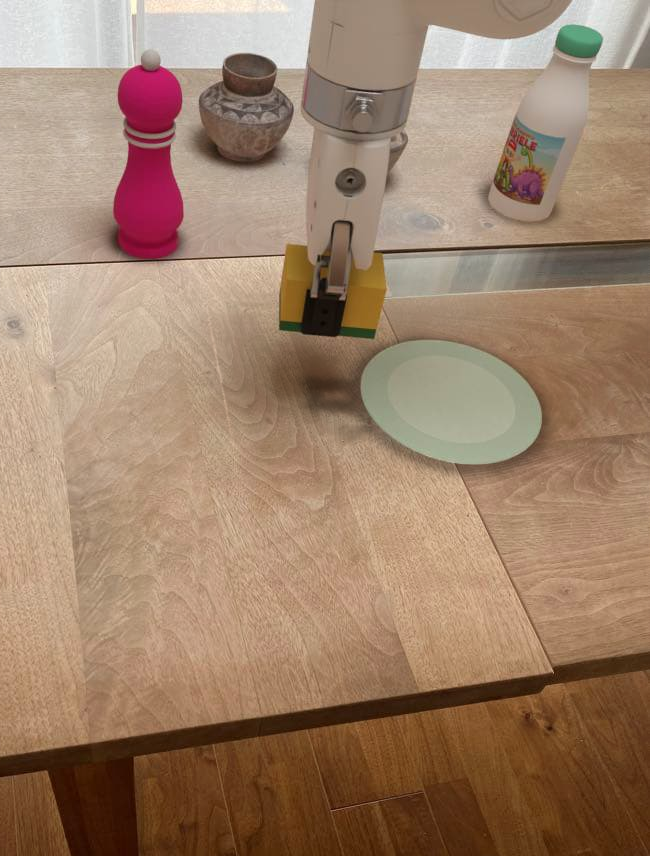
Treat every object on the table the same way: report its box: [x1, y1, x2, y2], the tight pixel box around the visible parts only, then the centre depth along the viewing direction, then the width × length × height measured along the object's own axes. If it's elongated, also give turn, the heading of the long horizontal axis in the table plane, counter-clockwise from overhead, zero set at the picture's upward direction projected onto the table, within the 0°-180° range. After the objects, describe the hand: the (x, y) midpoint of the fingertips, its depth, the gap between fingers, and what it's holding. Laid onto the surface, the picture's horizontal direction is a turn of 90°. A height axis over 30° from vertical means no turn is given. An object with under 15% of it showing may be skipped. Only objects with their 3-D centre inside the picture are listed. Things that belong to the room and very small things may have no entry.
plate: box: [360, 339, 543, 465], centre depth 83 cm, size 17×17×1 cm
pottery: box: [198, 52, 409, 174], centre depth 104 cm, size 11×25×12 cm, turn 74°
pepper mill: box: [112, 48, 185, 260], centre depth 87 cm, size 7×7×20 cm
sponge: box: [278, 243, 388, 340], centre depth 74 cm, size 8×5×5 cm, turn 88°
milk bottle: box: [487, 24, 604, 222], centre depth 99 cm, size 8×8×20 cm
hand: (318, 310), depth 75 cm, fingers closed on sponge, 5 cm apart
